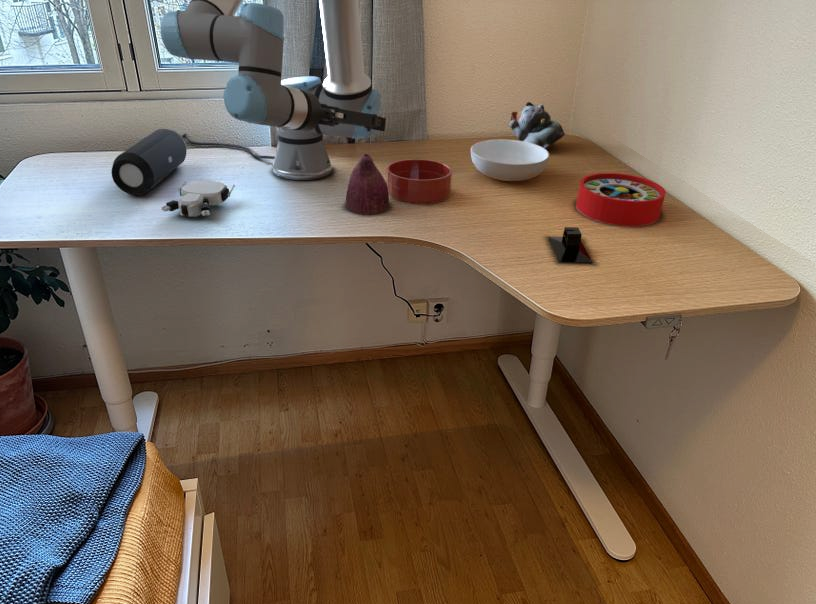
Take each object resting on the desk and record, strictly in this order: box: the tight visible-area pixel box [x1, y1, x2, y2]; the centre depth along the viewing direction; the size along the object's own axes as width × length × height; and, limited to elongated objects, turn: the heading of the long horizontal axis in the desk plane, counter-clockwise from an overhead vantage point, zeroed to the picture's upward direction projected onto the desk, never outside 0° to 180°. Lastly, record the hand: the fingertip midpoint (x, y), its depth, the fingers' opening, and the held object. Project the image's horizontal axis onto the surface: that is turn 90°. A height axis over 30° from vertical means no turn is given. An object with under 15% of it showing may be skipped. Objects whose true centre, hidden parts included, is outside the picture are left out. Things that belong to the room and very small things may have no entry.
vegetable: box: [344, 152, 390, 216], centre depth 152 cm, size 10×10×15 cm
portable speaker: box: [111, 128, 188, 195], centre depth 163 cm, size 26×10×10 cm, turn 176°
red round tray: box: [385, 158, 453, 205], centre depth 163 cm, size 16×16×6 cm
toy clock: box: [575, 172, 666, 227], centre depth 159 cm, size 20×6×20 cm
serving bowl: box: [470, 138, 550, 182], centre depth 176 cm, size 21×21×7 cm
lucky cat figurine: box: [509, 101, 566, 150], centre depth 199 cm, size 15×12×14 cm
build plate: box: [547, 226, 594, 265], centre depth 139 cm, size 12×7×5 cm, turn 1°
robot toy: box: [160, 179, 236, 218], centre depth 150 cm, size 12×4×15 cm
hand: (358, 122), depth 145 cm, fingers open, 13 cm apart
